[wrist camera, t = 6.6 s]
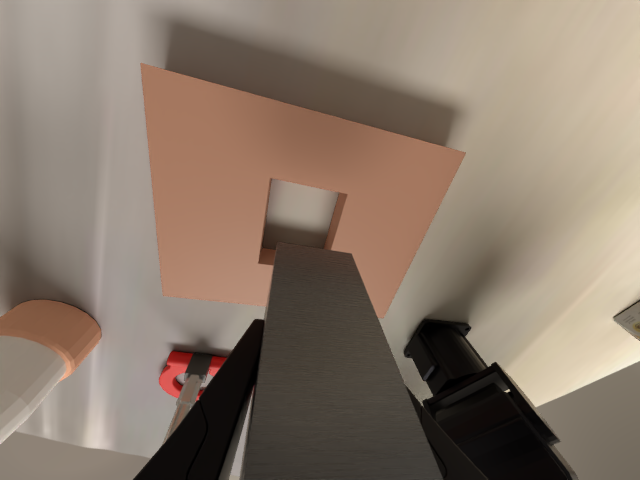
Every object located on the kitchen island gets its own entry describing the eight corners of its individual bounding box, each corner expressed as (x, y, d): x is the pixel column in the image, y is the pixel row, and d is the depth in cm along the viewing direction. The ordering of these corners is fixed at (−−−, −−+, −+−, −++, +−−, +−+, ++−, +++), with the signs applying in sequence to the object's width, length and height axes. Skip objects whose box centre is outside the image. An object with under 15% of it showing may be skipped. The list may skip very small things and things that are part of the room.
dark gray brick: (351, 253, 11) (452, 501, 4) (325, 327, 13) (360, 569, 6) (277, 241, 10) (238, 516, 3) (263, 321, 12) (222, 585, 5)
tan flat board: (445, 147, 18) (466, 152, 16) (375, 300, 25) (383, 318, 23) (164, 70, 14) (140, 63, 12) (176, 277, 21) (162, 295, 19)
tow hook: (230, 394, 32) (241, 355, 28) (193, 550, 21) (202, 526, 16) (163, 388, 30) (164, 345, 26) (83, 557, 19) (61, 532, 15)
